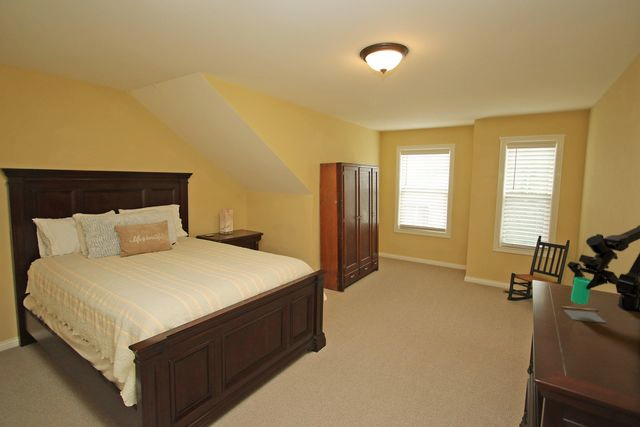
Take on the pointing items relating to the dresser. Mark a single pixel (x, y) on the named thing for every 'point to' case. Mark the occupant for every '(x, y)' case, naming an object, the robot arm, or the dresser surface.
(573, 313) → the mat
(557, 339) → the dresser surface
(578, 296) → the candle
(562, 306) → the line strip
